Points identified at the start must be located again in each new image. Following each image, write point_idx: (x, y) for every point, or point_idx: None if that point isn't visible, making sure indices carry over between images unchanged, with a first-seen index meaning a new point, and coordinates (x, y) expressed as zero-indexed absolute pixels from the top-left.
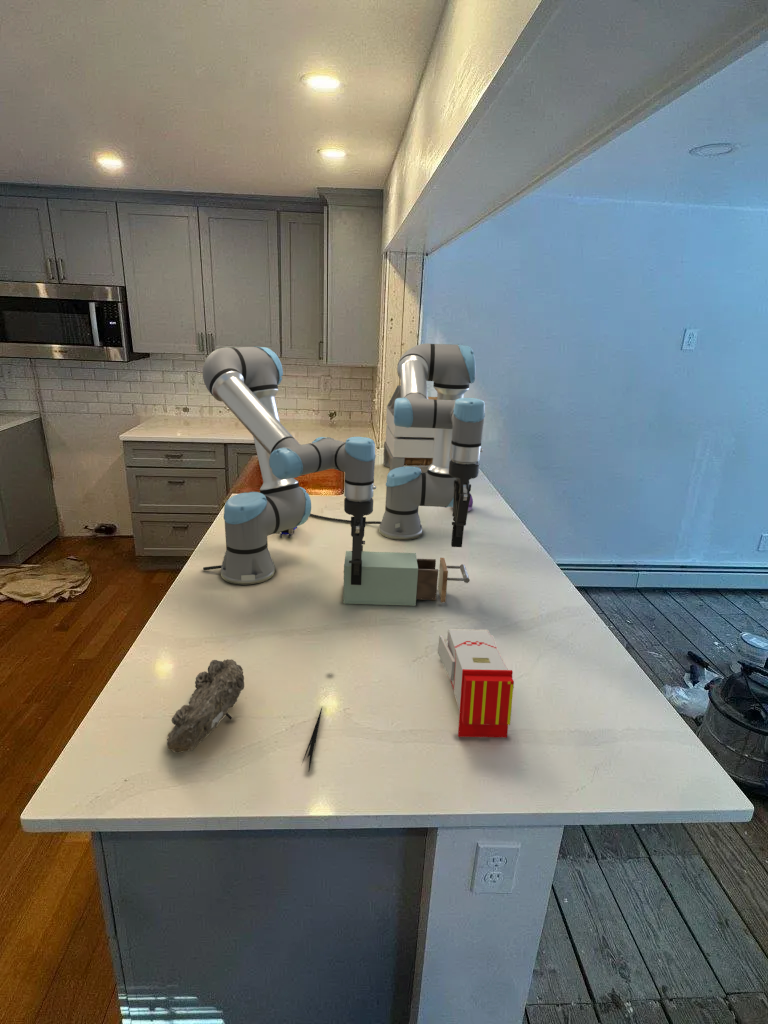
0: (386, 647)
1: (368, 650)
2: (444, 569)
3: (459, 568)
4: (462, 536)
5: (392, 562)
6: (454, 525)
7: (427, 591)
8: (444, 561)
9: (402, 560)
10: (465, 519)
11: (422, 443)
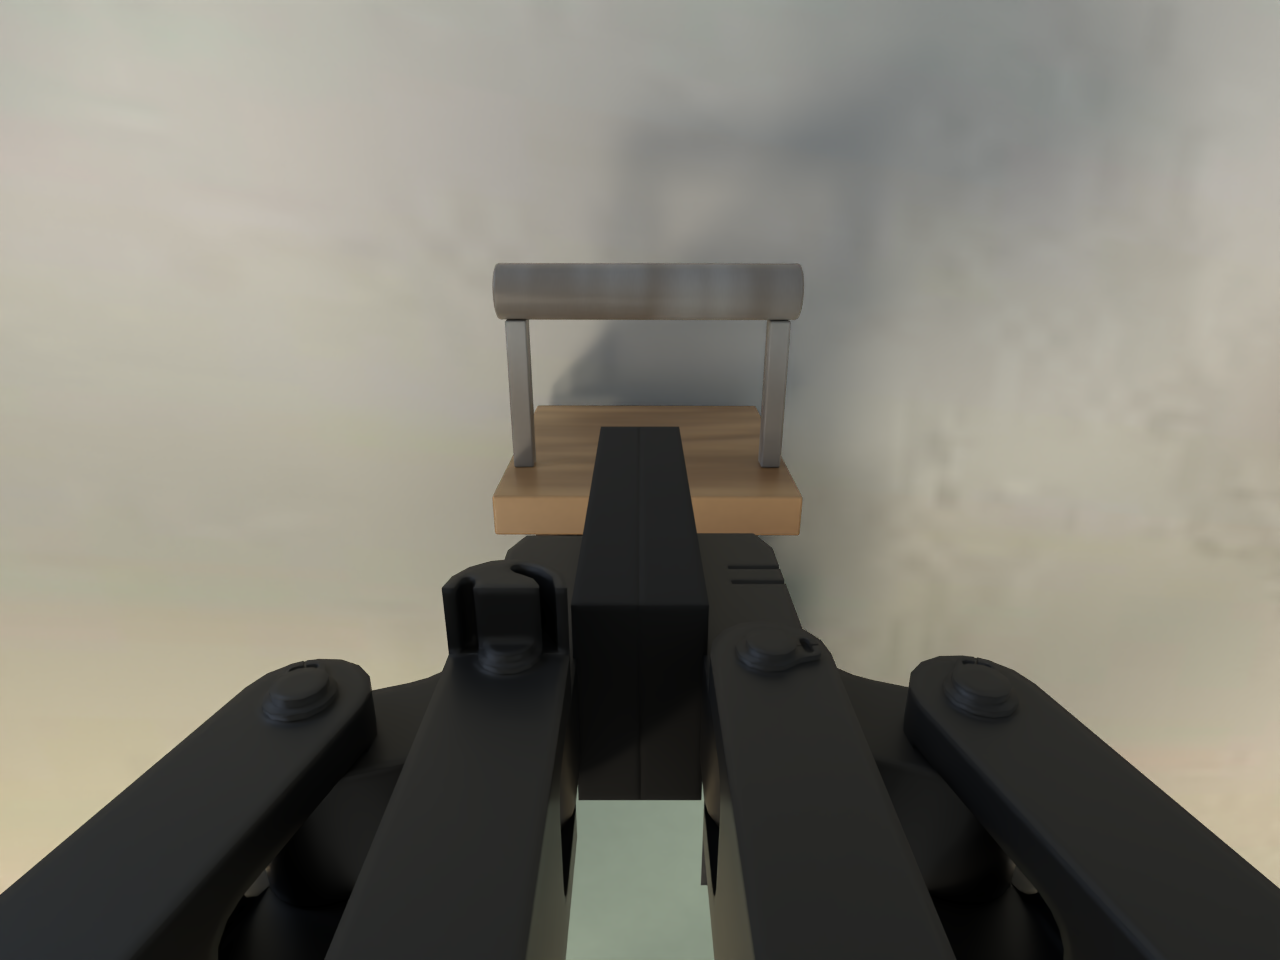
0: (1163, 724)
1: (1170, 792)
2: (763, 524)
3: (527, 321)
4: (690, 495)
5: (700, 908)
6: (700, 767)
7: None
8: (581, 505)
9: (658, 847)
10: (1181, 838)
11: None
